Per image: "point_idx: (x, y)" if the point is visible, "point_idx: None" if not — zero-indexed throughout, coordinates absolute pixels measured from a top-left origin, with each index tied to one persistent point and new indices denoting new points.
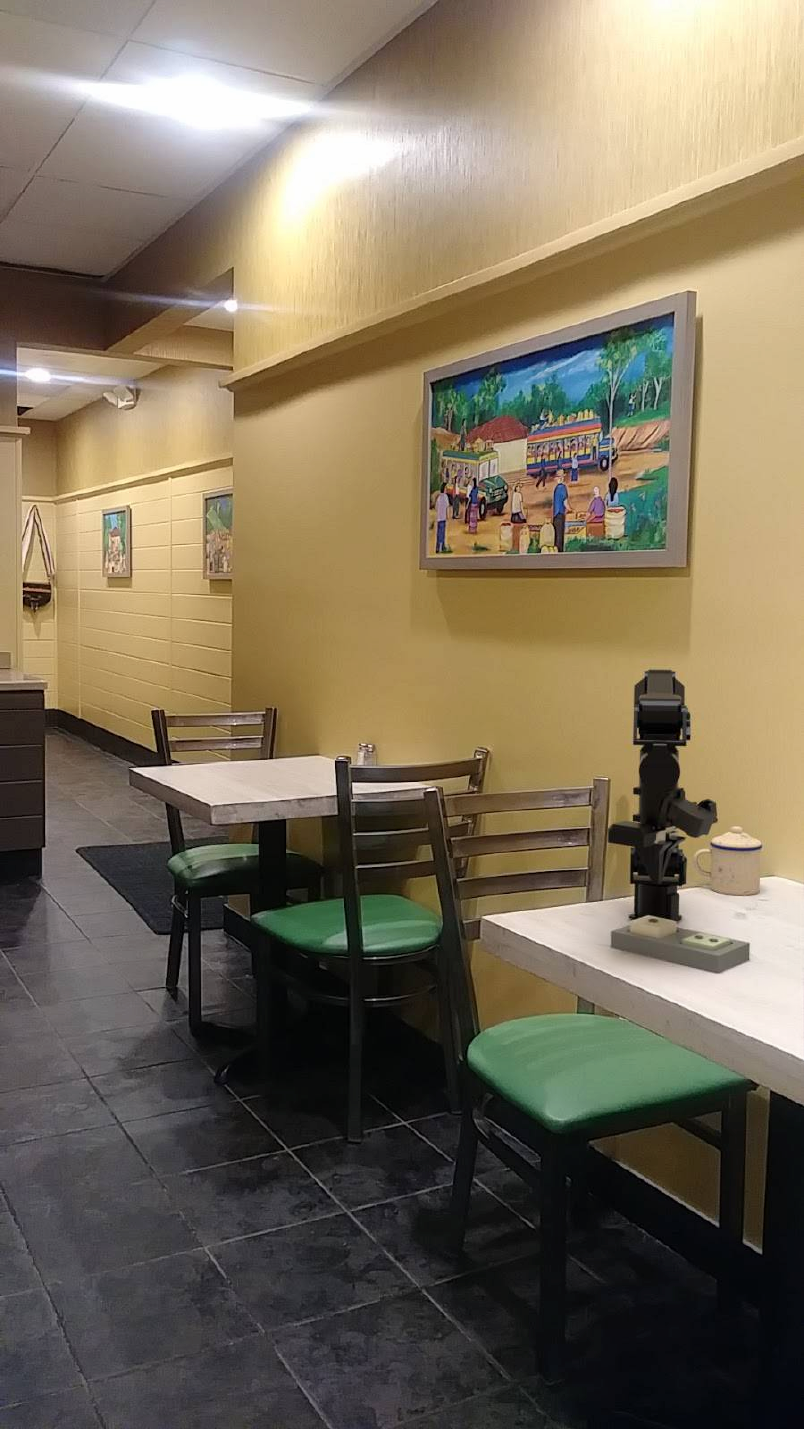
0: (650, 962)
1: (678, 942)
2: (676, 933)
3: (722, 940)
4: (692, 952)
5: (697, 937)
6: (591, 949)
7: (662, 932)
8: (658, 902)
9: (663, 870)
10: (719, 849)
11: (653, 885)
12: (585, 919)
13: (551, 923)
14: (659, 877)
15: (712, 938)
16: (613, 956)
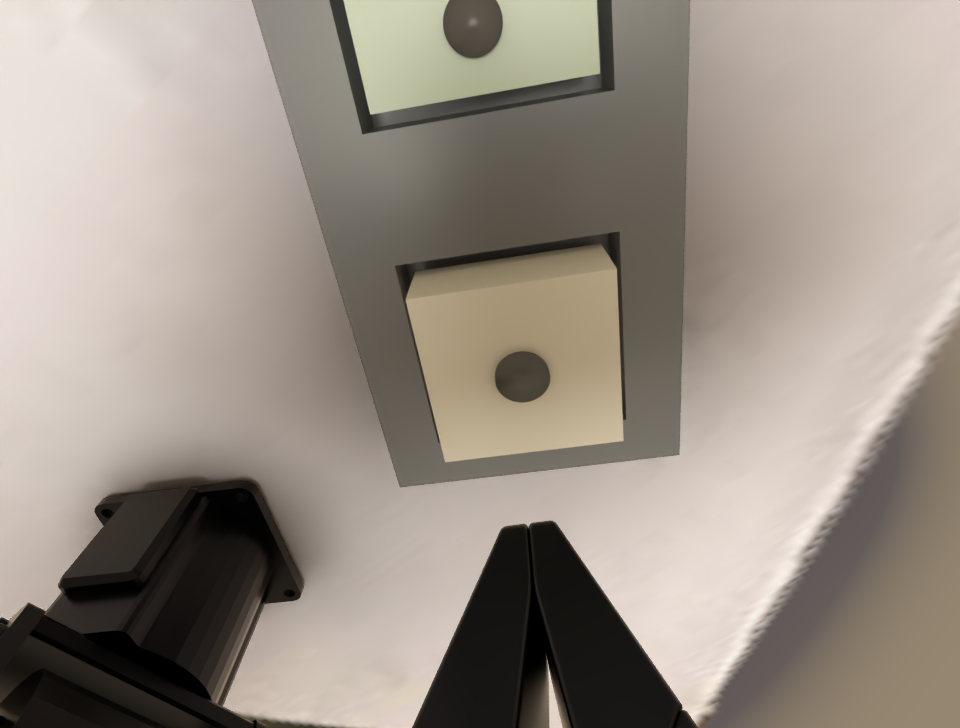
0: (738, 148)
1: (601, 99)
2: (451, 244)
3: None
4: None
5: (501, 12)
6: (738, 432)
7: (564, 261)
8: (198, 579)
9: (507, 627)
10: None
11: (173, 672)
12: (436, 646)
13: None
14: (562, 565)
15: None
16: (768, 321)
